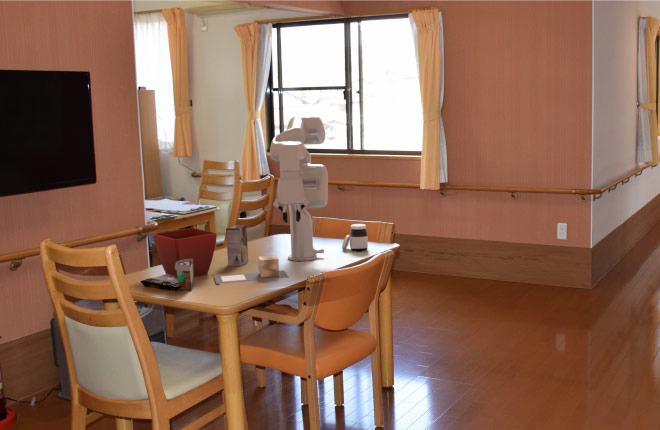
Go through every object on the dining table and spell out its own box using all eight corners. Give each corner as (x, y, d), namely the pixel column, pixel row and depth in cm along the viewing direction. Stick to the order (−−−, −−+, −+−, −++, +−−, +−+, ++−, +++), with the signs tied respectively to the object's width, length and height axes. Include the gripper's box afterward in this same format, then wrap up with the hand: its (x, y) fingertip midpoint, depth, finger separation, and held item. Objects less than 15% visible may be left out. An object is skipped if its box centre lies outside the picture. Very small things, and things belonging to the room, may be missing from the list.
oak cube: (276, 272, 294) (275, 255, 293) (279, 276, 287) (278, 258, 286) (258, 274, 292) (258, 256, 291) (261, 277, 286) (260, 260, 285)
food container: (178, 284, 281) (176, 259, 280) (194, 284, 282) (192, 258, 280) (174, 293, 269) (172, 266, 268) (191, 292, 270) (189, 265, 268)
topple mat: (283, 271, 298) (283, 270, 298) (289, 278, 285) (289, 277, 285) (213, 277, 291) (213, 275, 291) (216, 284, 279) (216, 283, 279)
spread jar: (369, 251, 331) (368, 226, 329) (344, 253, 329) (343, 227, 327) (364, 246, 343) (363, 222, 341) (340, 248, 341) (339, 223, 339)
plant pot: (220, 273, 298) (217, 232, 296) (178, 282, 286) (175, 239, 283) (195, 266, 312) (192, 227, 310) (154, 274, 300) (151, 233, 297)
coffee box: (234, 261, 320) (232, 224, 318) (248, 261, 319) (246, 224, 317) (227, 265, 312) (225, 228, 309) (242, 266, 310) (240, 228, 308)
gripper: (309, 173, 292) (310, 219, 294) (267, 175, 288) (269, 221, 291) (313, 175, 284) (314, 221, 287) (270, 177, 281) (272, 224, 283)
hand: (291, 221), depth 289 cm, fingers open, 4 cm apart
